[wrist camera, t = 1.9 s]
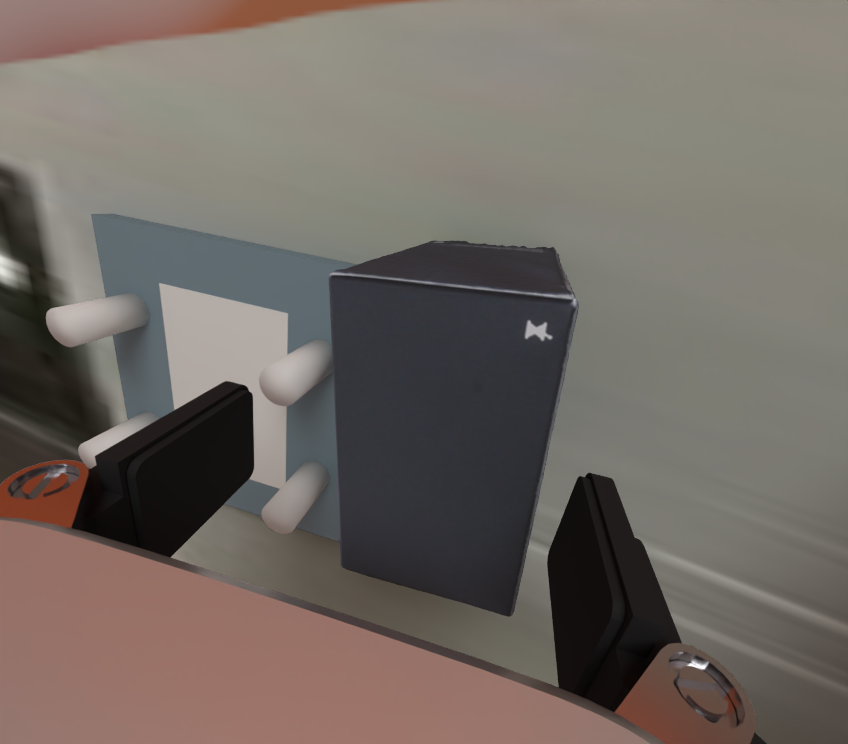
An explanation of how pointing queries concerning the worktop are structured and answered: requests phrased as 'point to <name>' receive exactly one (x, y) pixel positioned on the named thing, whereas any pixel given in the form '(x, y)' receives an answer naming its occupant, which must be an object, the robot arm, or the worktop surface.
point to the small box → (447, 412)
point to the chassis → (222, 352)
